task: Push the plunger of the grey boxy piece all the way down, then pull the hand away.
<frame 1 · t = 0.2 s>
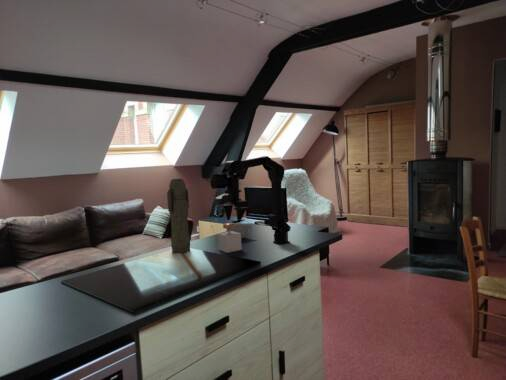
hand: (233, 221, 180), 15 cm above the worktop, tool pointing down, fingers open, 9 cm apart
grey boxy piece: (230, 249, 186), on the worktop
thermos: (181, 251, 187), on the worktop
plunger: (229, 231, 185), point 9 cm above the worktop, slide at 2.6 cm
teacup: (239, 239, 211), on the worktop
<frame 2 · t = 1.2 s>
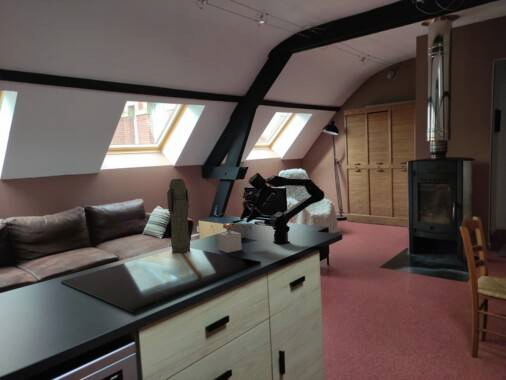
hand: (243, 220, 188), 13 cm above the worktop, tool tilted 45°, fingers open, 8 cm apart
nothing on the worktop moved.
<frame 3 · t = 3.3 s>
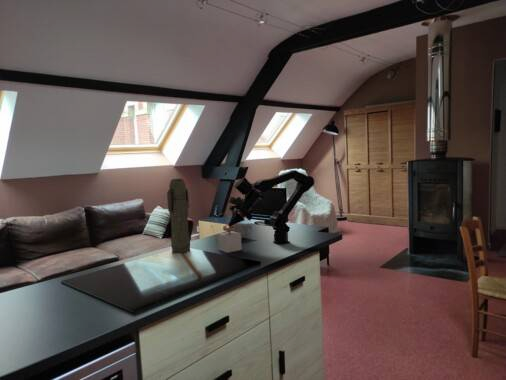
hand: (229, 225, 185), 12 cm above the worktop, tool tilted 45°, fingers closed, pressing on plunger
plunger: (229, 233, 185), point 8 cm above the worktop, slide at 1.5 cm, touching gripper
everything else where it was.
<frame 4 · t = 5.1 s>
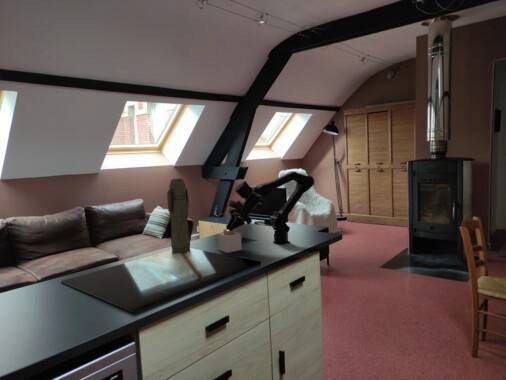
hand: (228, 229, 185), 10 cm above the worktop, tool tilted 45°, fingers open, 3 cm apart
plunger: (229, 236, 186), point 6 cm above the worktop, slide at -0.2 cm, touching gripper
everything else where it was.
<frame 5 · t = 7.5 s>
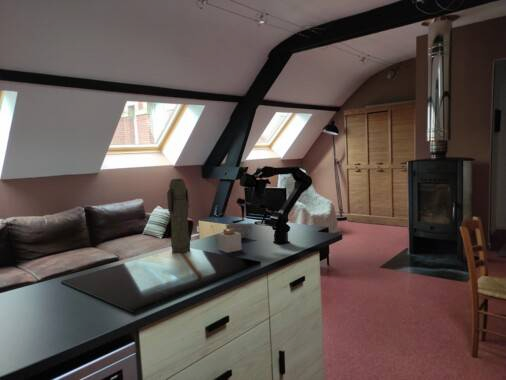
hand: (252, 222, 187), 12 cm above the worktop, tool tilted 20°, fingers open, 9 cm apart
plunger: (229, 236, 186), point 6 cm above the worktop, slide at -0.1 cm
everything else where it was.
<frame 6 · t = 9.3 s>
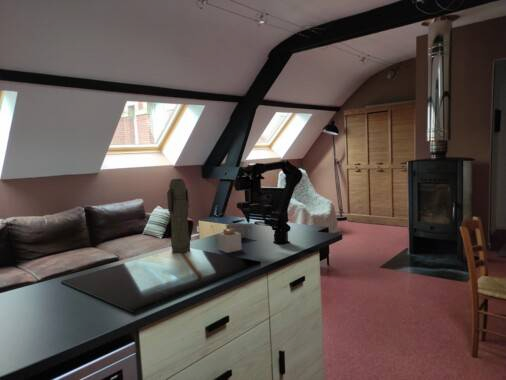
hand: (256, 221, 187), 13 cm above the worktop, tool pointing down, fingers open, 9 cm apart
nothing on the worktop moved.
at the end: plunger slide at -0.1 cm; the gripper is holding nothing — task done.
